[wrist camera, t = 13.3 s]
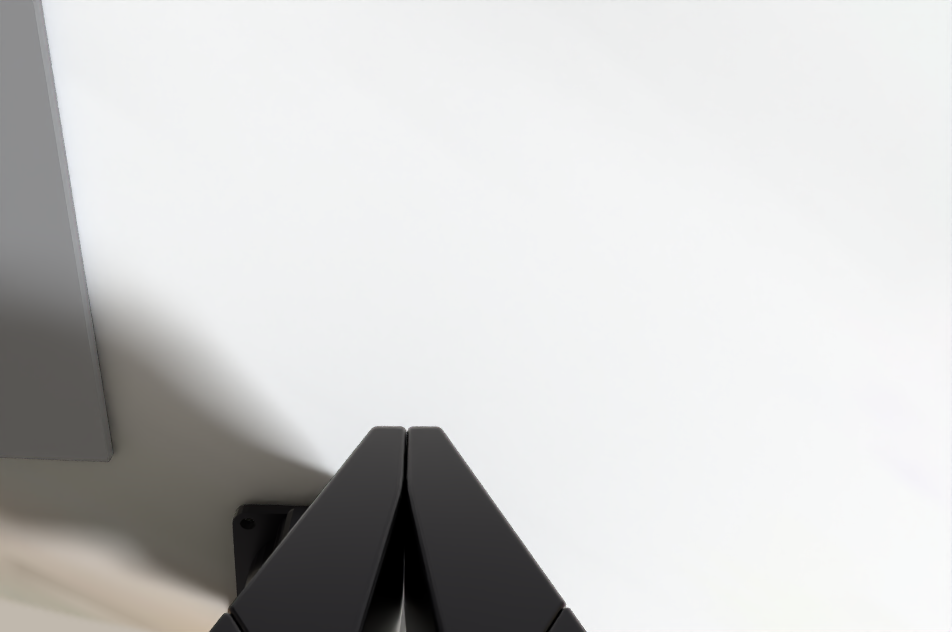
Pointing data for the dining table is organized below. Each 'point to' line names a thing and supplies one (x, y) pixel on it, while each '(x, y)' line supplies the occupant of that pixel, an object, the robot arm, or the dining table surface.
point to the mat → (41, 265)
